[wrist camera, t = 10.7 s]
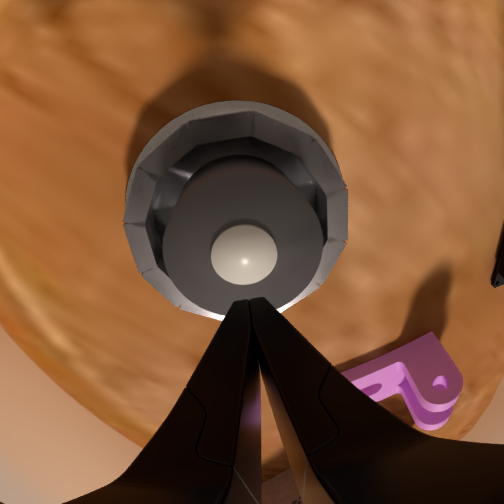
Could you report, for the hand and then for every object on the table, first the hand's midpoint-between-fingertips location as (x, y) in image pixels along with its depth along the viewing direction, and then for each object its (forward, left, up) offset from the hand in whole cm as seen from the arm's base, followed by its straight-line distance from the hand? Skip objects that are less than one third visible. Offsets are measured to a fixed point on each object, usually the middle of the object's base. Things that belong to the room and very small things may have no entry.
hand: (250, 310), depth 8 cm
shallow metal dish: (0, 0, -7) cm, 7 cm away
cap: (0, 0, -7) cm, 7 cm away
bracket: (-9, +17, -8) cm, 21 cm away
